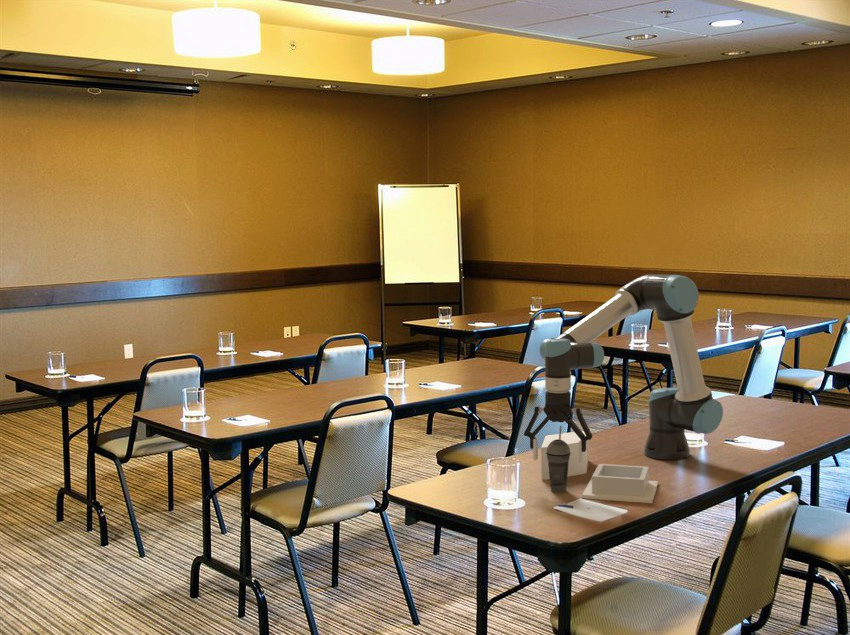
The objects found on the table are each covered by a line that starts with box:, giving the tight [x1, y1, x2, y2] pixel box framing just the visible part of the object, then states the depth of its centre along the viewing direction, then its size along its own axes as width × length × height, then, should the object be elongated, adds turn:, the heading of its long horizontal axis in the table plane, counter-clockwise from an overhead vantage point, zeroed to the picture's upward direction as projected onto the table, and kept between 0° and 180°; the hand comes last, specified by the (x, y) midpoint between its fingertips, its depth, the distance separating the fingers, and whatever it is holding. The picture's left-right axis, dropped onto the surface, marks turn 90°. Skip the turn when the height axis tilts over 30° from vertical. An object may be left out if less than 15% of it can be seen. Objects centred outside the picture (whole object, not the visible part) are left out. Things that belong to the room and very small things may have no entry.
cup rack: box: [581, 463, 659, 504], centre depth 280 cm, size 20×20×6 cm
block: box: [540, 430, 589, 481], centre depth 305 cm, size 15×30×11 cm, turn 141°
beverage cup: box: [546, 425, 571, 494], centre depth 281 cm, size 7×7×20 cm
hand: (557, 460), depth 281 cm, fingers open, 13 cm apart
